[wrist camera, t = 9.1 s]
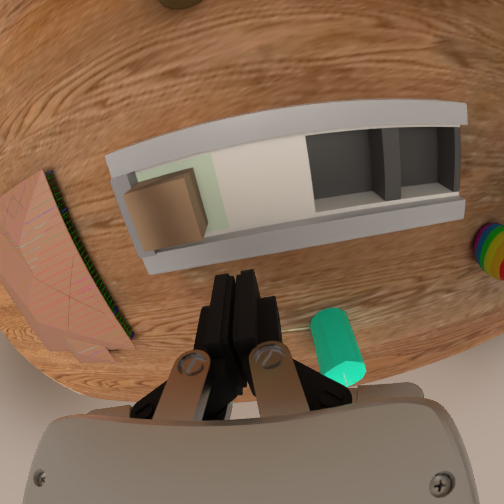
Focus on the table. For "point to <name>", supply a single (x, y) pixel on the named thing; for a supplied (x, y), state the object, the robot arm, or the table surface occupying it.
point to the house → (54, 276)
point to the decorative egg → (491, 250)
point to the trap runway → (304, 175)
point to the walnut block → (167, 210)
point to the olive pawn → (179, 3)
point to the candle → (337, 347)
